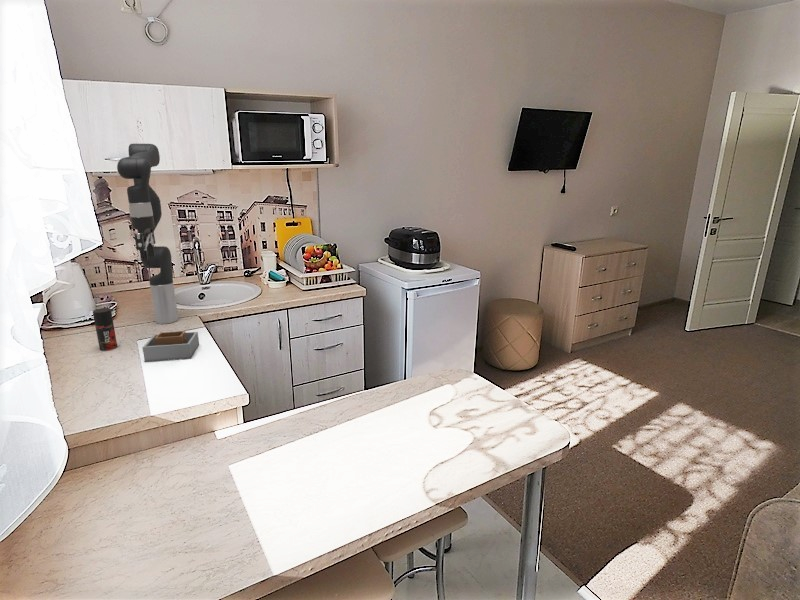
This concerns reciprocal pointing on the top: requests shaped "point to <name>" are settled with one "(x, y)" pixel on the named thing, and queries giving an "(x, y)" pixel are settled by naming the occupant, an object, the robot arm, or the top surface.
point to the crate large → (171, 349)
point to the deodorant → (105, 329)
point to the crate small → (171, 338)
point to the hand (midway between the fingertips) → (148, 258)
